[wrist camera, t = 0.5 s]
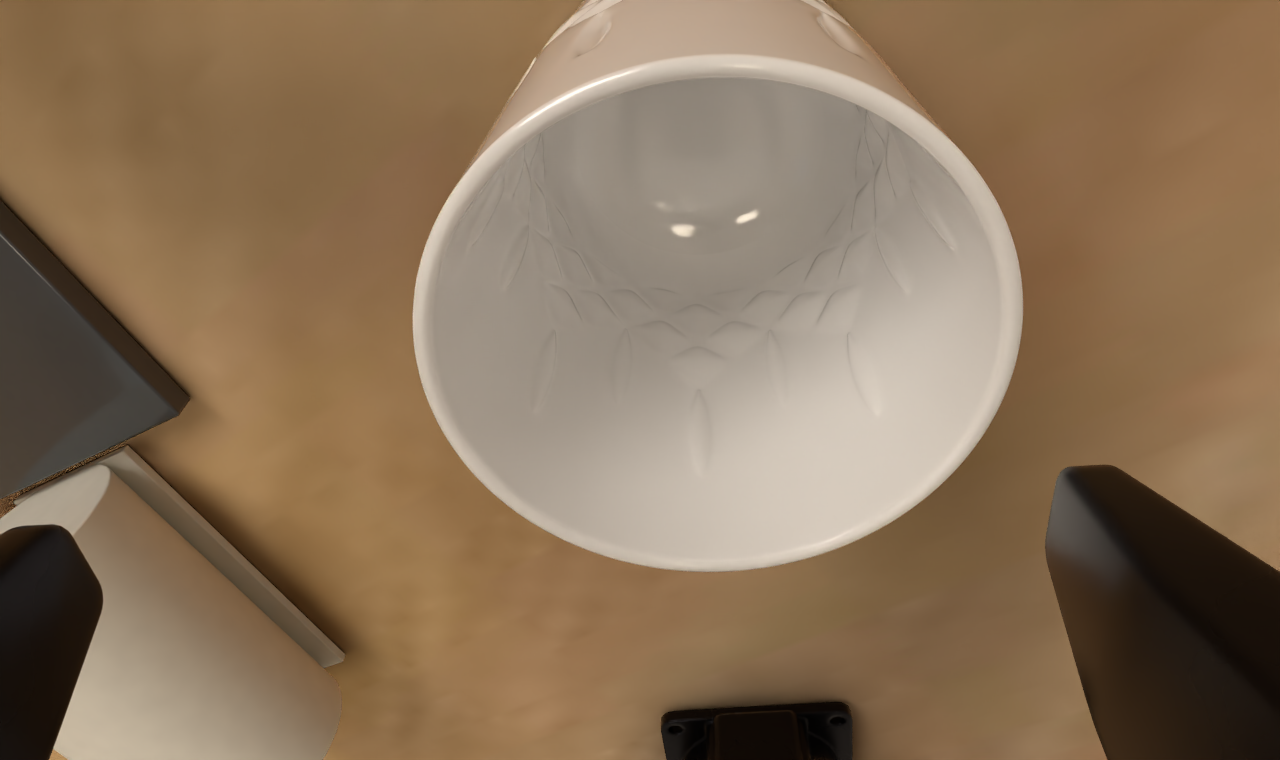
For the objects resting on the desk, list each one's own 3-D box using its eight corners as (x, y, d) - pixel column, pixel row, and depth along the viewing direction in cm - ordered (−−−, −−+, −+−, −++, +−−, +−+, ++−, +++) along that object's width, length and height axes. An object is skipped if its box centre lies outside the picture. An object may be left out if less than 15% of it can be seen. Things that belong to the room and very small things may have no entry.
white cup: (531, 268, 23) (451, 570, 15) (500, -89, 18) (360, 57, 10) (856, 270, 23) (960, 578, 14) (906, -92, 18) (1100, 55, 10)
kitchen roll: (365, 648, 31) (306, 824, 26) (227, 696, 33) (147, 870, 28) (148, 434, 26) (24, 600, 21) (-1, 504, 28) (-149, 674, 23)
